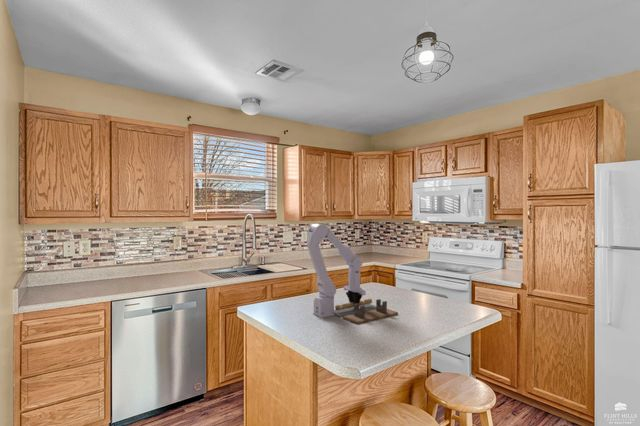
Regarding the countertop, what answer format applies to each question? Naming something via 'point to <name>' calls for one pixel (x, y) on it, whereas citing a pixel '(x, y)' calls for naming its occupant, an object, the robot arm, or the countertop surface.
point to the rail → (352, 304)
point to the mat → (352, 310)
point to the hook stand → (369, 313)
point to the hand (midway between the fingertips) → (354, 306)
